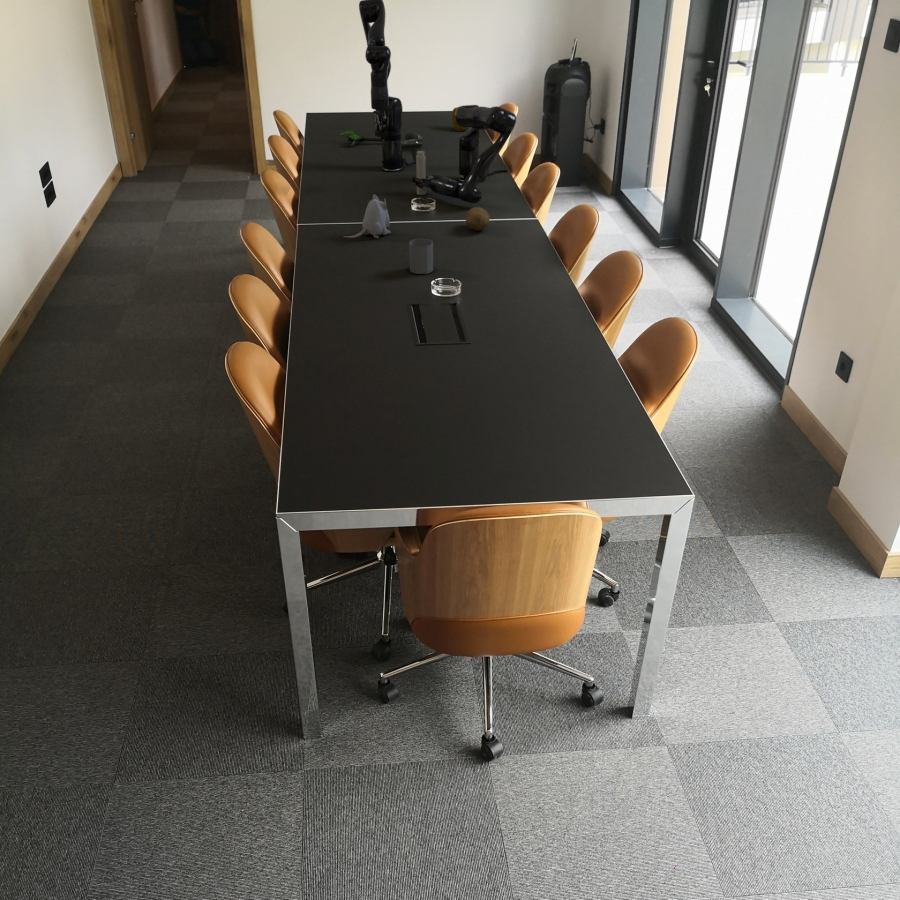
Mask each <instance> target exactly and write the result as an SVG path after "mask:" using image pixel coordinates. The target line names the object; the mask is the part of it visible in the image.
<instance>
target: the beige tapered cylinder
mask: <svg viewBox="0 0 900 900" xmlns="http://www.w3.org/2000/svg"><path fill="white" fill-rule="evenodd" d="M415 160H416V163H415V173H416V174H415V175H416V176H415V177H417V178H421V179H422V178H426V176H427V156H426V151H425V150H417V151H416V155H415ZM420 181H421V180H420ZM424 181H425V180H424ZM426 194H427V187H424V186H423V188H419V187H418V186H416V195H419V196H424V195H426Z"/></svg>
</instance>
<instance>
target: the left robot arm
mask: <svg viewBox="0 0 900 900" xmlns="http://www.w3.org/2000/svg"><path fill="white" fill-rule="evenodd" d="M358 9H359V10H358V11H359V16H360V20H361V24H362V28H363V32H364V37H365V40H366V41H365V42H366V46H367V47H366V50H365V55H364V56H365V61H366V62H367V63H368V64H370V69H371V72H370V103H371V104H370V107H371V109H372V110H373V111H372V113H373V121H374V123H373V124H374V126H375V130H377V129H380V136H376V138H380V139H381V140H382V142H381V151H382V152H381V153H382V160H381V164H382V170H383V171H385V172H400V171H402V170H403V166H405V165H407V166H412V165H414V164H416V159H415V160H413V161H411V162H407V160H406V157H404V156H403V148H402V127H403V103H402V101H401V99H400V98H399V97H396V96H390V95H389V85H388V79H389V77H390V74H391V70H392V63H391V57H392V52H391V49H390V47H389V46H387V45H386V38H385V37H386V36H385V27H386V15H387V13H386V7H385V3H384V0H360V1H359V3H358ZM371 24H372V25H371ZM385 130H386V132H387V135H386V136H385Z"/></svg>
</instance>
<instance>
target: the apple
mask: <svg viewBox="0 0 900 900" xmlns="http://www.w3.org/2000/svg"><path fill="white" fill-rule="evenodd" d="M458 107H459V106H457V107H454V108H452V111H451V121H452V125H453V128H454V129H455V131H457V132H463V131H466V130H467V129H468V128H469V127H460V126H459V125H458V124H457V122H456V119H455V113H456V110H457V108H458Z"/></svg>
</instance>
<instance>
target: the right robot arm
mask: <svg viewBox="0 0 900 900" xmlns="http://www.w3.org/2000/svg"><path fill="white" fill-rule="evenodd" d="M457 107H458V108H457ZM457 107H456V108H457V110H456V113H455V119H456V122H457V124H458V125H459V126H460V127H468V128H469V129H468V130H467V131H466V132H464V133H462V134H460V135H459V137H458V180H455V179H453V178H450V177H446V176H444V175H439V174H436V175H435V174H430V175H426V178H422V179H421V178H417V177H416V176H412V177H411V178H412V179H411V180H412V181H411V182H412V183H415V187H417V186H418V187H419V188H423V186H424V187H426V189H427V188H428V189H430V190H431V192H432V193H433V194H437V195H441V196H445V197H449V198H453V199H459V200H460V201H462V202H467V203H470V204H477V203H479V202H480V201H482V198H483V192H482V190H481V189H480V188H479V186H478V184H481V183H484V182H486V180H487V178H488V176H492V175H493V174H496V173H505V172H508V168H506V169H496V170H492V171H491V168H492V166H493V164H494V162H495V161H496V159H497V157H498V155H499V154H500V153H501V151H502V149H503V148H504V147H505V144H506V143H507V141H508V140H509V138H510V136H511V135H512V132H513V130H514V128H515V127H516V123H517V116H516V114H515V113H513V112H512V111H510V110H507V109H506V108H503V107H501V106H491V107H488V106H480V105H478V104H467V105H459V106H457ZM486 130H491V131H494V132H496V133H498V134H499V136H498V137H497V138H496V140H495V141H494V142H493V144H491V145H490V146H488V148H486V149H485V150H483V151H482V152H481V153H480V137H481V131H486ZM490 171H491V172H490ZM420 180H421V181H420ZM424 180H425V181H424Z"/></svg>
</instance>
